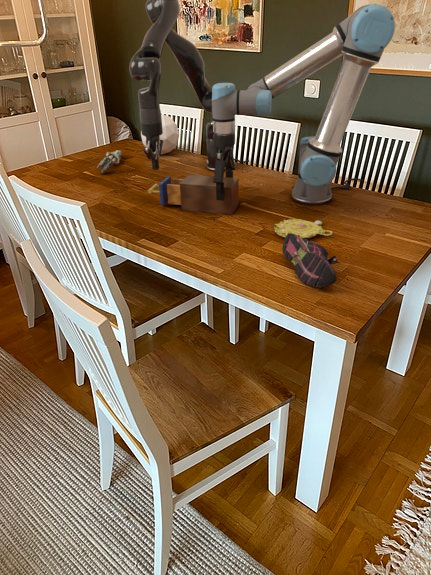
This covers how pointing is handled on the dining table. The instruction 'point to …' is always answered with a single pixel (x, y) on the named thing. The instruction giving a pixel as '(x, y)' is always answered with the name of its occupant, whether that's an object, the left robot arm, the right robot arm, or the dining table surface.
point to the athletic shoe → (309, 261)
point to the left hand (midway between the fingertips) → (155, 169)
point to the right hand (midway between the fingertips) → (225, 193)
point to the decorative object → (300, 228)
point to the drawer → (168, 191)
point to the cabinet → (208, 195)
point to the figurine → (110, 160)
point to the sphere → (167, 134)
